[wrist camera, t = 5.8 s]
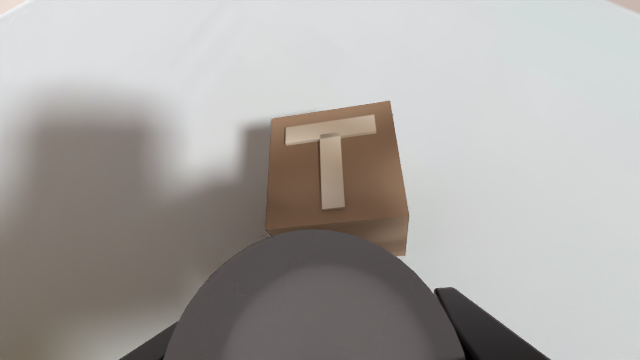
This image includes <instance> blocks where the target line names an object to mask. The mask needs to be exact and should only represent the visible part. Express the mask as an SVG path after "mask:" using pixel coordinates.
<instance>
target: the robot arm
mask: <svg viewBox="0 0 640 360" xmlns="http://www.w3.org/2000/svg"><path fill="white" fill-rule="evenodd" d="M434 296H435V297H436V299H437V300H438V301H439V303H440V304H441V306H442V307H443V309H444V311H445V313H446V314H447V316H448V318H449V320H450V322H451V323H452V325H453V327H454V329H455V332H456V334H457V337H458V339H459V342H460V344H461V346H462V349H463V352H464V355H465V359H466V360H550V359H549V358H548V357H546V356H545V355H544V354H542V353H541V352H540V351H538V350H537V349H536V348H534V347H533V346H532V345H530V344H529V343H527V342H526V341H525V340H523V339H522V338H521V337H519V336H518V335H517V334H515V333H514V332H513V331H511V330H510V329H509V328H507V327H506V326H505V325H503V324H502V323H501V322H499V321H498V320H496V319H495V318H494V317H492V316H491V315H490V314H488V313H487V312H486V311H484V310H483V309H482V308H480V307H479V306H478V305H476V304H475V303H474V302H472V301H471V300H470V299H468V298H467V297H465V296H464V295H463V294H461V293H460V292H459V291H457V290H456V289H455V288H452V287H447V288H436V289H435V290H434ZM177 323H178V322H176V323H174V324H173V325H171V326H170V327H168V328H167V329H165V330H164V331H162V332H161V333H159V334H158V335H156V336H155V337H153V338H152V339H150V340H148V341H147V342H145V343H144V344H142V345H141V346H139V347H138V348H136V349H135V350H133V351H132V352H130V353H129V354H127V355H126V356H124V357H123V358H121V359H119V360H163V359H164V356H165V353H166V350H167V347H168V344H169V341H170V339H171V337H172V334H173V332H174V330H175V328H176V325H177Z"/></svg>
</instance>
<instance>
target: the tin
mask: <svg viewBox="0 0 640 360" xmlns="http://www.w3.org/2000/svg"><path fill="white" fill-rule="evenodd" d="M163 360H466V359H465V355H464V352H463V349H462V346H461V344H460V342H459V339H458V337H457V334H456V332H455V329H454V327H453V325H452V323H451V322H450V320H449V318H448V316H447V314H446V313H445V311H444V309H443V307H442V306H441V304H440V303H439V301H438V300H437V299H436V297H435V296H434V294H433V293H432V291H431V290H430V289H429V288H428V286H427V285H426V284H425V283H424V282H423V281H422V280H421V279H420V278H419V276H418V275H417V274H416V273H415V272H414V271H413V270H411V269H410V268H409V267H408V266H407V265H406V264H405V263H403V262H402V261H401V260H400V259H399V258H397V257H396V256H394V255H393V254H391V253H390V252H388V251H387V250H385V249H384V248H382V247H380V246H378V245H376V244H374V243H372V242H370V241H368V240H365V239H362V238H360V237H357V236H354V235H351V234H347V233H342V232H338V231H331V230H320V229H312V230H298V231H292V232H286V233H282V234H279V235H275V236H272V237H269V238H266V239H264V240H262V241H259V242H257V243H255V244H253V245H251V246H249V247H248V248H246V249H244V250H242V251H241V252H239V253H237V254H236V255H235V256H233V257H232V258H231V259H229V260H228V261H227V262H225V263H224V264H223V265H222V266H221V267H220V268H219V269H218V270H217V271H215V272H214V273H213V274H212V275H211V276H210V277H209V279H208V280H207V281H206V282H205V283H204V284H203V285H202V287H201V288H200V289H199V290H198V291H197V293H196V294H195V296H194V297H193V299H192V300H191V301H190V303H189V304H188V306H187V307H186V309H185V311H184V313H183V314H182V316H181V318H180V320H179V321H178V323H177V325H176V328H175V330H174V332H173V334H172V337H171V339H170V341H169V344H168V347H167V350H166V353H165V356H164V359H163Z"/></svg>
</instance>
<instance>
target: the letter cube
mask: <svg viewBox="0 0 640 360" xmlns="http://www.w3.org/2000/svg"><path fill="white" fill-rule="evenodd" d="M408 222H409V212H408V206H407V200H406V194H405V188H404V182H403V176H402V170H401V164H400V158H399V152H398V146H397V140H396V134H395V128H394V122H393V116H392V110H391V104H390V101H385V102H379V103H372V104H366V105H359V106H353V107H346V108H339V109H333V110H326V111H320V112H313V113H307V114H300V115H294V116H287V117H281V118H274V119H272V121H271V138H270V156H269V173H268V191H267V209H266V226H265V230H266V231H267V232H268V233H269V234H270V235H271V236H275V235H279V234H282V233H286V232H292V231H298V230H312V229H320V230H331V231H338V232H342V233H347V234H351V235H354V236H357V237H360V238H362V239H365V240H368V241H370V242H372V243H374V244H376V245H378V246H380V247H382V248H384V249H385V250H387V251H388V252H390V253H391V254H393V255H394V256H405V253H406V243H407V232H408Z"/></svg>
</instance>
